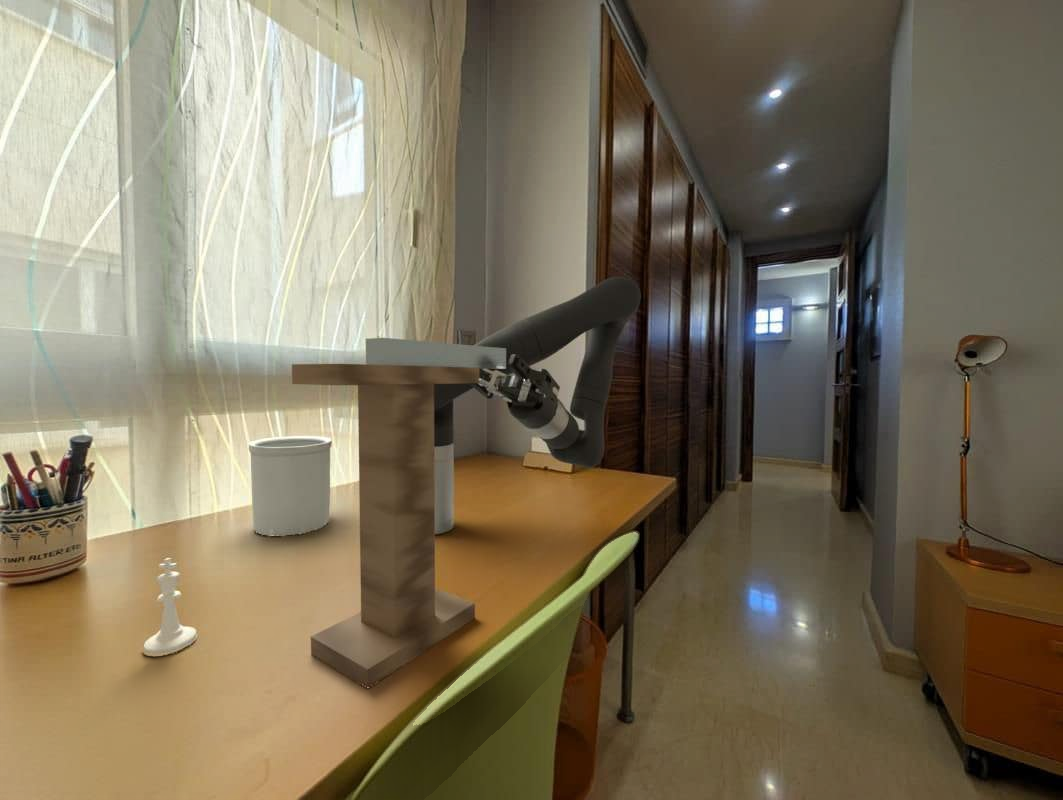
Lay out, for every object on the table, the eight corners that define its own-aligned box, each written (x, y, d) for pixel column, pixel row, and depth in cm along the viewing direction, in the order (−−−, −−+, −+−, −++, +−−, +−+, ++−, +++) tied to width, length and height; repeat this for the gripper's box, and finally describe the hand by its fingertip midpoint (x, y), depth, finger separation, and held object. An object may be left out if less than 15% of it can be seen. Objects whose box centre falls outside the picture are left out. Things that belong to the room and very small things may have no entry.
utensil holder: (347, 522, 96) (346, 439, 95) (276, 544, 83) (274, 448, 82) (307, 510, 104) (305, 434, 103) (236, 529, 91) (233, 442, 90)
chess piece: (163, 632, 55) (160, 550, 54) (206, 631, 55) (204, 549, 54) (130, 658, 50) (127, 568, 49) (179, 656, 50) (175, 567, 50)
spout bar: (490, 368, 69) (490, 348, 69) (506, 368, 68) (506, 348, 67) (365, 365, 51) (365, 338, 51) (383, 365, 49) (383, 337, 49)
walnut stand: (431, 591, 66) (429, 367, 64) (484, 611, 60) (485, 367, 58) (293, 663, 49) (286, 364, 47) (349, 701, 43) (344, 363, 42)
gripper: (512, 389, 84) (460, 340, 72) (581, 392, 76) (536, 336, 64) (499, 426, 81) (443, 381, 69) (570, 433, 73) (520, 383, 61)
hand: (488, 359), depth 66 cm, fingers open, 8 cm apart
